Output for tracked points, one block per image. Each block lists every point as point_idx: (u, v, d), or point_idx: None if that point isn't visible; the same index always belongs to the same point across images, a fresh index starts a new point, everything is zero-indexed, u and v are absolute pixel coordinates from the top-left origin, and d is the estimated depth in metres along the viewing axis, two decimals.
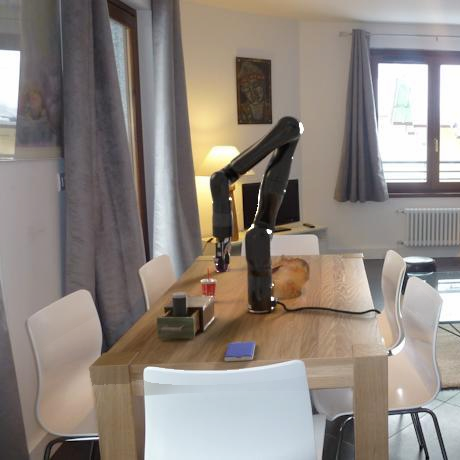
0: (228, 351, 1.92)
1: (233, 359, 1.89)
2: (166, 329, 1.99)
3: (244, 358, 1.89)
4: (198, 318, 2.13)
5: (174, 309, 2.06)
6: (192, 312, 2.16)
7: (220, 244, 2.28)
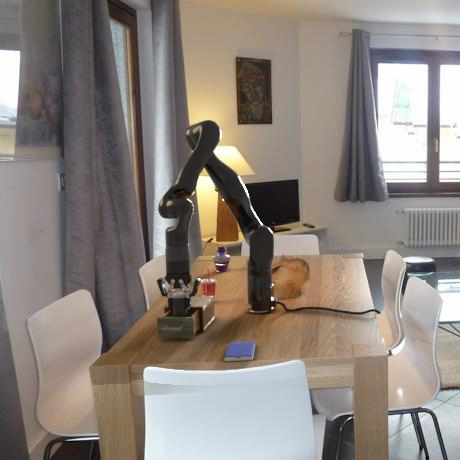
0: (228, 351, 1.92)
1: (233, 359, 1.89)
2: (166, 329, 1.99)
3: (244, 358, 1.89)
4: (198, 318, 2.13)
5: (174, 309, 2.06)
6: (192, 312, 2.16)
7: None
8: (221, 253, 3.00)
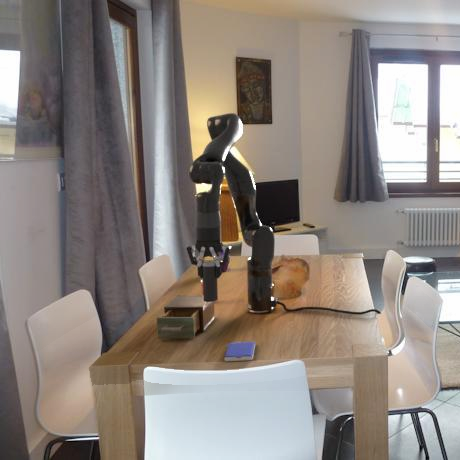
0: (228, 351, 1.92)
1: (233, 359, 1.89)
2: (166, 329, 1.99)
3: (244, 358, 1.89)
4: (198, 318, 2.13)
5: (204, 278, 1.99)
6: (192, 312, 2.16)
7: None
8: (221, 253, 3.00)
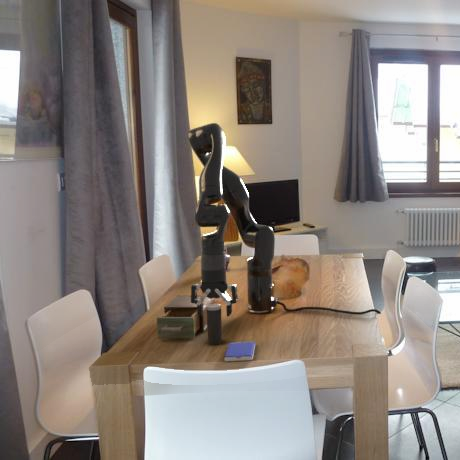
0: (228, 351, 1.92)
1: (233, 359, 1.89)
2: (166, 329, 1.99)
3: (244, 358, 1.89)
4: (198, 318, 2.13)
5: (209, 321, 2.01)
6: (192, 312, 2.16)
7: None
8: None
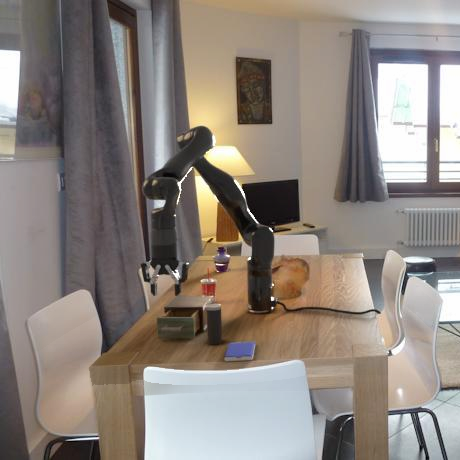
0: (228, 351, 1.92)
1: (233, 359, 1.89)
2: (166, 329, 1.99)
3: (244, 358, 1.89)
4: (198, 318, 2.13)
5: (209, 321, 2.01)
6: (192, 312, 2.16)
7: None
8: (221, 253, 3.00)
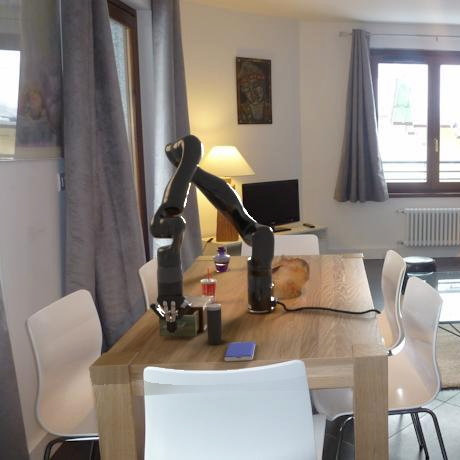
0: (228, 351, 1.92)
1: (233, 359, 1.89)
2: None
3: (244, 358, 1.89)
4: (200, 316, 2.15)
5: (209, 321, 2.01)
6: (194, 310, 2.18)
7: None
8: (221, 253, 3.00)
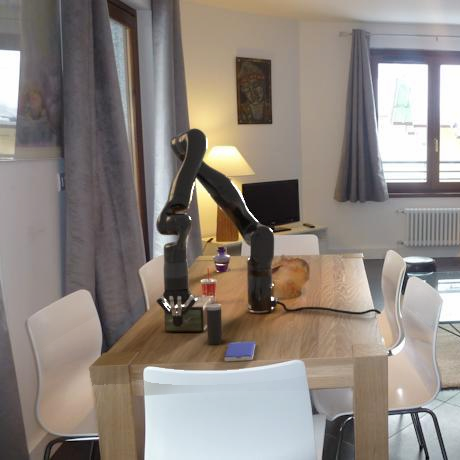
0: (228, 351, 1.92)
1: (233, 359, 1.89)
2: None
3: (244, 358, 1.89)
4: None
5: (209, 321, 2.01)
6: None
7: None
8: (221, 253, 3.00)
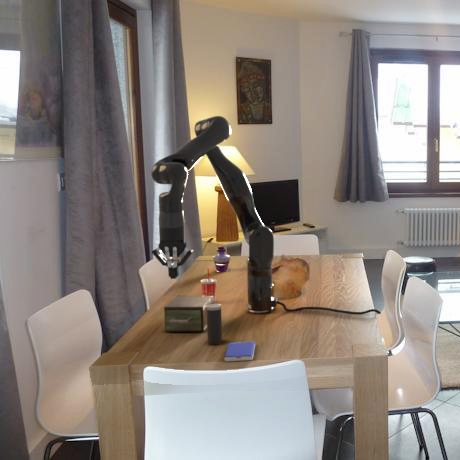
0: (228, 351, 1.92)
1: (233, 359, 1.89)
2: (174, 321, 2.07)
3: (244, 358, 1.89)
4: None
5: (209, 321, 2.01)
6: None
7: None
8: (221, 253, 3.00)
